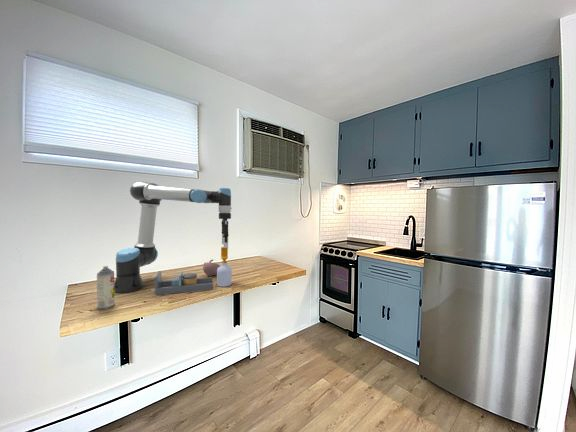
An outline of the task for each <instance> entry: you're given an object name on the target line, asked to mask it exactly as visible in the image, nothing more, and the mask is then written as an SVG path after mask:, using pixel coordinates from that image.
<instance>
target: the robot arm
mask: <svg viewBox="0 0 576 432" xmlns="http://www.w3.org/2000/svg"><path fill="white" fill-rule="evenodd" d="M129 192H130V195H131V197H132V198H133V199H134V200H137V201H138V203H139V204H140V206H141V208H140V216H139V217H140V218H139V225H138V237H137V242H136V243H135V244H134V247H128V248H124V249H121V250H119V251H117V252H116V255H115V271H116V272H115V274H116V276H115V279H114V291H115V293H117V294H119V293H120V294H121V293H123V294H124V293H131V292H136V291H137V290H141V289H142V288H144V281H143V279H142V276H141V267H145V266H147V265H150V264H152V263H154V262H156V260H157V258H158V255H159V253H158V250H157V248H156V244H155V243H154V236H155V235H154V234H155V227H156V217H157V210H158V207H159V206H160V204H161V201H162V200H164V201H175V202H176V201H177V202H178V201H179V202H186V203H187V202H189V203H196V204H218V219H219V220H221V245H223V247H224V248H228V249H229V220H230V219H232V213H231V212H232V210H231V209H233V208H232V191H231V189H230V188H228V187H220V188H218V190H217V191H214V190H213V191H212V190H205V189H199V188H197V189H195V188H186V187H185V188H182V187H173V186H171V187H169V186H161V185H160V184H157V183H154V182H152V183H151V182H147V181H145V182H144V181H137V182H134V183H133V184H132V185H131V186H130V189H129Z"/></svg>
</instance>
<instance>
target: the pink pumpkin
mask: <svg viewBox="0 0 576 432" xmlns="http://www.w3.org/2000/svg"><path fill="white" fill-rule="evenodd" d="M213 261H214V259H211V260H209V261H207V262H204V263H203V265H202V271H203V273H204V274H205V275H206V276H209V277H213V276H217V269H218V268H219V267H220V266H221V265H220V264H219V263H216V262H213Z"/></svg>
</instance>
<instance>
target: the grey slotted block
mask: <svg viewBox="0 0 576 432" xmlns="http://www.w3.org/2000/svg"><path fill="white" fill-rule="evenodd" d="M213 281H214V280H213V276H209V277H197V285H186V286H183V279H182V286H175V287H172V280H163V281H162V270H160V271H158V272H157V274H156V275H155V277H154V296H157V295H159V296H160V295H168V294H178V293H180V294H181V293H190V292H200V291H208V290H214V282H213Z"/></svg>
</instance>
